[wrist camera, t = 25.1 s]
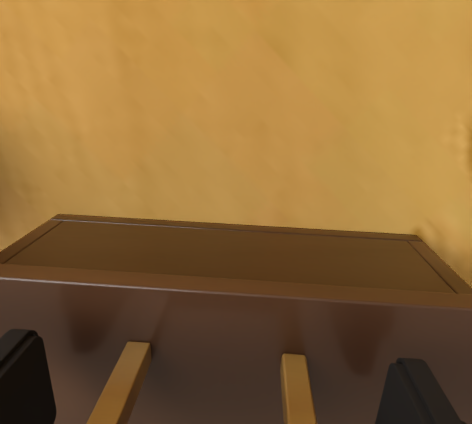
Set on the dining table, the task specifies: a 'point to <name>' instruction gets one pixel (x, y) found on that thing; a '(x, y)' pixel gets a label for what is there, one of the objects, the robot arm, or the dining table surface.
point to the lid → (230, 346)
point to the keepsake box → (236, 253)
